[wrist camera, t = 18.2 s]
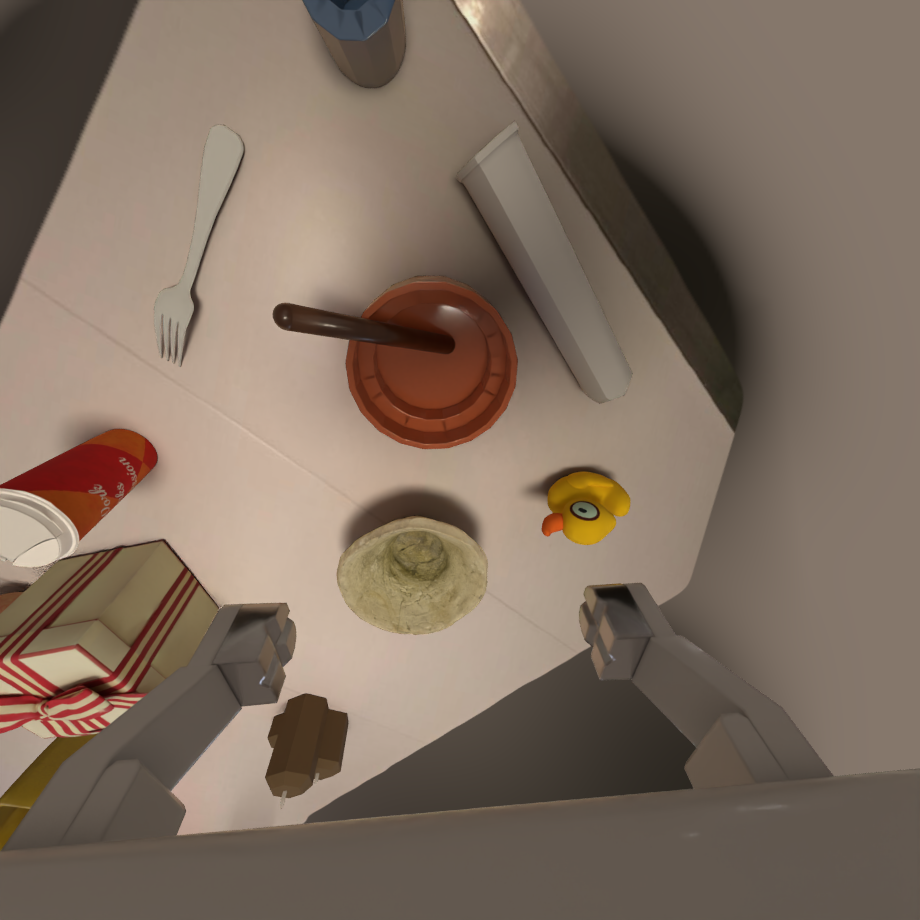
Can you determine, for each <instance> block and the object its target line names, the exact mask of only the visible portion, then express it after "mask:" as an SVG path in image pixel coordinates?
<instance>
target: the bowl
mask: <svg viewBox="0 0 920 920" xmlns="http://www.w3.org/2000/svg"><path fill="white" fill-rule="evenodd" d="M487 567H488V562H487V558H486V555H485V553H484V551H483V550H482V548H481V547H480V546H479V545H478V544H477V543H476V542H475V541H474V540H473V539H472V538H470V537H469V536H468V535H467V534H466V533H465V532H464V531H462V530H460V529H459V528H457V527H455V526H452V525H450V524H447V523H444V522H440V521H436V520H433V519H429V518H426V517H422V516H417V515H416V516H410V517H406V518H403V519H397V520H394V521H392V522H390V523H388V524H385V525H384V526H380V527H379V528H376V529H374V530H373V531H371V532H369V533H367V534H365V535H363V536H361V537H360V538H358V539H357V540H355V541H354V543H353V544H352V545H351V546H350V547H349V548H348V549H347V550H346V551H345V552H344V553H343V554H342V556H341V557H340V560H339V565H338V569H337V583H338V586H339V589H340V591H341V593H342V596H343V598H344V600H345V602H346V604H347V605H348V607H349V608H350V609H351V610H352V611H353V612H354V613H355V614H356V615H357V616H358V617H359V618H361V619H362V620H364V621H366V622H368V623H369V624H371V625H373V626H376V627H378V628H380V629H382V630H386V631H389V632H393V633H399V634H413V635H418V634H429V633H434V632H438V631H441V630H443V629H445V628H447V627H449V626H451V625H452V624H454V623H455V622H456V621H458V620H459V619H461V618H462V617H464V616H465V615H467V614H468V613H469V612H471V611H472V610H473V609H474V608H475V607H476V606H477V605H478V604H479V602H480V601H481V599H482V598H483V596H484V594H485V591H486V586H487Z"/></svg>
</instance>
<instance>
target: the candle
mask: <svg viewBox="0 0 920 920" xmlns="http://www.w3.org/2000/svg"><path fill="white" fill-rule="evenodd" d="M347 729H348V718H347V713H342V712H338V711H334V710H330V709H328V704H327V699H326V698H322V697H318V696H314V695H310V694H304V695H301V696H298V697H295V698H293V699H290V700H288V703H287V707H286V710H285V713H283V714H280V715H277V716H275V717H274V719H273V722H272V725H271V729H270V732H269V735H268V740H269V743H270V745H271V748H274V750H273V753H272V756H271V760H270V763H269V766H268V769H267V773H266V776H265V779H266V781H267V783H268V785H269V787H270V790H271V792H272V794H273V796H278V797H282V798H281V802H280V809H282V807H283V805H284V802H285V798H291V797H294V796H298V795H301V794H303V793H304V792H305V791H306V790H308V789H309V788H310V787H311V786H312V785H313V780H314V779H315V784H317V782H318V780H322V779H325V778H328V777H331V776H334V775H335V774H337V773H339V772H340V771H341V765H342V759H343V753H344V747H345V741H346V735H347Z"/></svg>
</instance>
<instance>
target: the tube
mask: <svg viewBox="0 0 920 920" xmlns="http://www.w3.org/2000/svg"><path fill="white" fill-rule="evenodd" d="M518 129H519V127H518V125H517V123H516V121H514V122H512V123H511V124H510V125H509V126H508V127H506V128H505V129H504V130H503V131H501V132H500V133H499V134H498V135H497V136H496V137H495V138H493V139H492V140H491V141H490V142H489V143H488V144H487V145H486V146H485V147H484V148H482V149H481V150H480V151H479V152H478V153H477V154H476V155H475V156H474V157H473V158H472V159H471V160H470V161H469V162H468V163H467V164H466V165H465V166H464V167H463V168H462V169H461V170H460V171H459V172H458V173H457V175H456V177H457V179H458V181H459V182H460V183H463V184H464V185H465V187H466V188H467V190H468V192H469V194H470V195H471V197H472V199H473V200H474V202H475V204H476V206H477V207H478V209H479V211H480V213H481V214H482V216H483V218H484V220H485V221H486V223H487V225H488V227H489V228H490V230H491V232H492V233H493V235H494V237H495V239H496V240H497V242H498V244H499V246H500V247H501V249H502V251H503V253H504V254H505V256H506V258H507V260H508V261H509V263H510V265H511V266H512V268H513V270H514V272H515V273H516V275H517V277H518V279H519V280H520V282H521V284H522V286H523V287H524V289H525V291H526V293H527V294H528V296H529V298H530V299H531V301H532V303H533V305H534V306H535V308H536V310H537V312H538V313H539V315H540V317H541V319H542V320H543V322H544V324H545V325H546V327H547V329H548V331H549V332H550V334H551V336H552V338H553V339H554V341H555V343H556V345H557V346H558V348H559V350H560V352H561V353H562V355H563V357H564V358H565V360H566V362H567V364H568V365H569V367H570V369H571V371H572V372H573V374H574V376H575V378H576V379H577V381H578V383H579V385H580V386H581V388H582V390H583V391H584V393H585V394H586V395H587V396H588V397H589V398H591V399H592V400H594V401H596V402H598V403H599V404H601V403H604V402H608V401H611V400H614V399H616V398H619V397H621V396H624V395H625V393H626V391H627V388H628V386H629V383H630V380H631V377H632V374H633V373H632V371H631V369H630V367H629V365H628V363H627V361H626V358H625V356H624V354H623V352H622V350H621V348H620V346H619V344H618V342H617V340H616V338H615V336H614V333H613V331H612V329H611V327H610V325H609V323H608V321H607V319H606V317H605V315H604V313H603V311H602V308H601V306H600V304H599V302H598V300H597V298H596V296H595V294H594V292H593V290H592V288H591V286H590V284H589V281H588V279H587V277H586V275H585V273H584V271H583V269H582V267H581V265H580V263H579V261H578V259H577V256H576V254H575V252H574V250H573V248H572V246H571V244H570V242H569V240H568V238H567V236H566V234H565V231H564V229H563V227H562V225H561V223H560V221H559V219H558V217H557V215H556V213H555V211H554V209H553V207H552V204H551V202H550V200H549V198H548V196H547V194H546V192H545V190H544V188H543V186H542V184H541V182H540V179H539V177H538V175H537V173H536V171H535V169H534V167H533V165H532V163H531V161H530V159H529V157H528V154H527V152H526V150H525V148H524V146H523V144H522V142H521V140H520V138H519V135H518Z"/></svg>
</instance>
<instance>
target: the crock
mask: <svg viewBox="0 0 920 920" xmlns="http://www.w3.org/2000/svg"><path fill="white" fill-rule="evenodd" d="M302 1H303V3H304V4H305V6H306V8H307V10H308V12H309V14H310V16H311V18H312V20H313V21H314V23H315V25H316V27H317V29H318V31H319V33H320V34H321V36H322V38H323V40H324V42H325V44H326V46H327V48H328V49H329V51H330V53H331V55H332V57H333V59H334V61H335V62H336V64H337V66H338V68H339V70H340V71H341V72H343V74H344V75H345V76H346V77H347V78H349V79H350V80H351V81H352V82H354V83H355V84H357V85H359V86H362V87H365V88H377V87H381V86H383V85H385V84H387V83H388V82H390V81H391V80H392V79H393V78H394V76H395V75H396V74H397V72H398V70H399V69H400V66H401V64H402V61H403V58H404V53H405V47H406V33H405V17H404V8H403V0H302Z"/></svg>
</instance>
